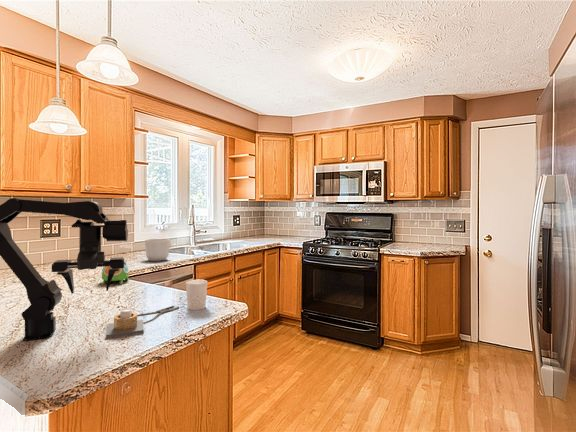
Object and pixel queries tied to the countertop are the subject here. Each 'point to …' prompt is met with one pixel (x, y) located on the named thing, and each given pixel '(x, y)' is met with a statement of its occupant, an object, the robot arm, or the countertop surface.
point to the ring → (125, 322)
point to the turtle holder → (116, 274)
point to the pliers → (159, 313)
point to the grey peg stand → (115, 333)
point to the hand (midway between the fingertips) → (90, 292)
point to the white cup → (196, 294)
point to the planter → (157, 249)
